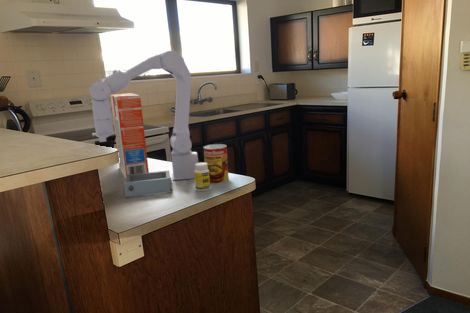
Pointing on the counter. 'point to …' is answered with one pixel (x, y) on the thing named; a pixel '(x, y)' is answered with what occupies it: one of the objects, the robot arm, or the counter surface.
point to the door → (148, 187)
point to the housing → (147, 176)
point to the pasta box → (129, 133)
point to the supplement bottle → (202, 177)
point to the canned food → (216, 162)
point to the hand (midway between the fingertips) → (108, 159)
